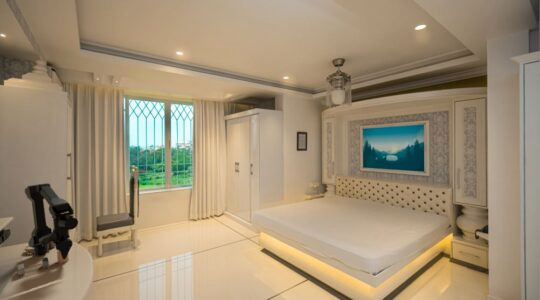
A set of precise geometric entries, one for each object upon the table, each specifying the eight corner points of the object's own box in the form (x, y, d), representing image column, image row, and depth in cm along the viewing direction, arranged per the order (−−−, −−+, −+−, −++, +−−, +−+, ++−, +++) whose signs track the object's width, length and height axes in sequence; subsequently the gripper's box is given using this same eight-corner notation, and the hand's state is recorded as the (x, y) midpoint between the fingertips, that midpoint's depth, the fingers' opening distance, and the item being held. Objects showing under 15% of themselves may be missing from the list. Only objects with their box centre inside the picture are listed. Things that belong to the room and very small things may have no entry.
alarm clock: (21, 247, 141) (54, 233, 153) (24, 254, 142) (56, 240, 154) (27, 251, 135) (60, 237, 147) (29, 259, 135) (62, 244, 148)
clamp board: (19, 271, 118) (18, 269, 118) (46, 263, 125) (46, 261, 125) (19, 281, 110) (19, 279, 110) (49, 272, 117) (49, 270, 117)
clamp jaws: (18, 272, 116) (17, 265, 116) (47, 263, 123) (47, 257, 123) (18, 276, 112) (18, 269, 112) (48, 267, 119) (48, 260, 119)
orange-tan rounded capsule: (57, 262, 126) (56, 250, 125) (68, 259, 129) (67, 248, 129) (58, 265, 123) (57, 253, 122) (69, 261, 126) (68, 250, 126)
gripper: (38, 227, 125) (40, 256, 126) (41, 236, 113) (43, 268, 113) (66, 221, 133) (67, 249, 134) (71, 229, 121) (73, 259, 121)
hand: (63, 256), depth 126 cm, fingers open, 9 cm apart
